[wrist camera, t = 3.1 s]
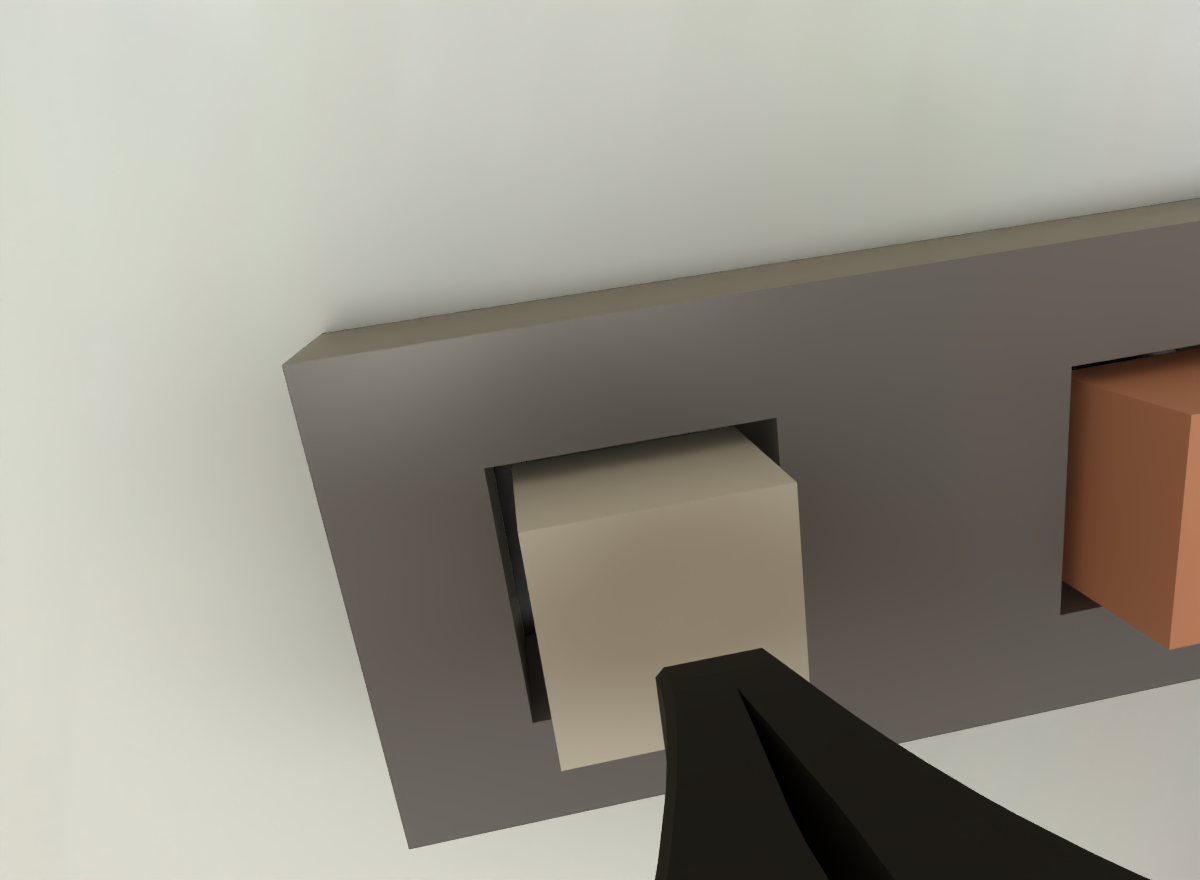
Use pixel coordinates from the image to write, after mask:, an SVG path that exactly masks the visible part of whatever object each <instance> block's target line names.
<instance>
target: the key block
mask: <svg viewBox="0 0 1200 880" xmlns="http://www.w3.org/2000/svg"><path fill="white" fill-rule="evenodd" d="M1176 348H1178V352H1180V351H1186V350H1192V349H1197V348H1200V198H1196V199H1190V200H1184V201H1177V202H1171V203H1164V204H1158V205H1151V206H1145V207H1138V208H1132V209H1125V210H1119V211H1112V212H1106V213H1099V214H1093V215H1086V216H1080V217H1073V218H1067V219H1061V220H1054V221H1048V222H1041V223H1035V224H1028V225H1022V226H1015V227H1009V228H1002V229H996V230H989V231H983V232H976V233H970V234H963V235H957V236H951V237H944V238H938V239H931V240H925V241H918V242H912V243H905V244H899V245H892V246H886V247H879V248H873V249H866V250H860V251H853V252H847V253H840V254H834V255H828V256H821V257H815V258H808V259H802V260H795V261H789V262H782V263H776V264H769V265H763V266H756V267H750V268H743V269H737V270H730V271H724V272H718V273H711V274H705V275H698V276H692V277H685V278H679V279H672V280H666V281H659V282H653V283H646V284H640V285H633V286H627V287H620V288H614V289H607V290H601V291H595V292H588V293H582V294H575V295H569V296H562V297H556V298H549V299H543V300H536V301H530V302H523V303H517V304H510V305H504V306H497V307H491V308H485V309H478V310H472V311H465V312H459V313H452V314H446V315H439V316H433V317H426V318H420V319H413V320H407V321H400V322H394V323H387V324H381V325H374V326H368V327H362V328H355V329H349V330H342V331H336V332H329V333H323V334H321V335H320V336H318V337H317V338H316V339H315V340H313V341H312V342H311V343H309V344H308V345H307V346H306V347H304V348H303V349H302V350H301V351H299V352H298V353H297V354H295V355H294V356H293V357H292V358H290V359H289V360H288V361H287V362H285V363H284V364H283V365H282V368H283V372H284V375H285V379H286V383H287V387H288V391H289V394H290V398H291V402H292V406H293V410H294V413H295V417H296V421H297V425H298V429H299V432H300V436H301V440H302V444H303V448H304V452H305V455H306V459H307V463H308V467H309V471H310V474H311V478H312V482H313V486H314V490H315V493H316V497H317V501H318V505H319V509H320V512H321V516H322V520H323V524H324V528H325V531H326V535H327V539H328V543H329V547H330V550H331V554H332V558H333V562H334V566H335V569H336V573H337V577H338V581H339V585H340V588H341V592H342V596H343V600H344V604H345V607H346V611H347V615H348V619H349V623H350V626H351V630H352V634H353V638H354V642H355V645H356V649H357V653H358V657H359V661H360V664H361V668H362V672H363V676H364V680H365V683H366V687H367V691H368V695H369V699H370V703H371V706H372V710H373V714H374V718H375V722H376V725H377V729H378V733H379V737H380V741H381V744H382V748H383V752H384V756H385V760H386V763H387V767H388V771H389V775H390V779H391V782H392V786H393V790H394V794H395V798H396V801H397V805H398V809H399V813H400V817H401V820H402V824H403V828H404V832H405V836H406V839H407V843H408V847H409V849H413V848H418V847H422V846H427V845H432V844H436V843H441V842H446V841H450V840H455V839H459V838H464V837H469V836H473V835H478V834H483V833H487V832H492V831H496V830H501V829H506V828H510V827H515V826H520V825H524V824H529V823H533V822H538V821H543V820H547V819H552V818H557V817H561V816H566V815H570V814H575V813H580V812H584V811H589V810H594V809H598V808H603V807H607V806H612V805H617V804H621V803H626V802H631V801H635V800H640V799H644V798H649V797H654V796H658V795H663V794H665V793H666V764H667V762H666V754H665V749H664V750H660V751H655V752H650V753H645V754H641V755H636V756H631V757H626V758H622V759H617V760H612V761H607V762H603V763H598V764H593V765H589V766H584V767H579V768H574V769H570V770H565V771H561V767H560V761H559V756H558V750H557V745H556V739H555V734H554V728H553V723H552V717H551V712H550V706H549V701H548V695H547V690H546V684H545V679H544V673H543V668H542V662H541V657H540V651H539V646H538V640H537V635H536V633H532V634H527V635H525V634H524V629H523V623H522V618H521V613H520V607H519V602H518V597H517V591H516V586H515V581H514V575H513V570H512V565H511V559H510V554H509V549H508V543H507V538H506V533H505V527H504V522H503V517H502V511H501V506H500V501H499V495H498V490H497V485H496V479H495V474H494V469H493V467H495V466H501V465H507V464H512V463H518V462H524V461H530V460H536V459H541V458H547V457H553V456H559V455H564V454H570V453H576V452H582V451H587V450H593V449H599V448H605V447H611V446H616V445H622V444H628V443H634V442H639V441H645V440H651V439H657V438H662V437H668V436H674V435H680V434H686V433H691V432H697V431H703V430H709V429H714V428H720V427H726V426H728V427H732V426H734V427H735V428H736V429H737V430H739V431H740V432H741V433H742V434H743V435H744V436H745V437H746V438H748V439H749V440H750V441H751V442H752V443H753V444H754V445H755V446H757V447H758V448H759V449H760V450H761V451H762V452H763V453H764V454H766V455H767V456H768V457H769V458H770V459H771V460H772V461H773V462H775V463H776V464H777V465H778V466H779V467H780V468H781V469H782V470H784V471H785V472H786V473H787V474H788V475H789V476H790V477H791V478H793V479H794V480H795V481H796V482H797V491H798V507H799V523H800V538H801V554H802V570H803V585H804V601H805V616H806V632H807V648H808V663H809V679H810V683H811V684H812V685H814V686H815V687H816V688H818V689H819V690H821V691H822V692H823V693H825V694H826V695H827V696H829V697H830V698H832V699H833V700H834V701H836V702H837V703H838V704H840V705H841V706H843V707H844V708H845V709H847V710H848V711H850V712H851V713H853V714H854V715H855V716H857V717H858V718H860V719H861V720H863V721H864V722H866V723H867V724H869V725H870V726H871V727H873V728H874V729H876V730H877V731H879V732H880V733H882V734H883V735H885V736H886V737H888V738H889V739H891V740H892V741H894V742H895V743H897V744H899V743H903V742H908V741H913V740H917V739H922V738H927V737H931V736H936V735H940V734H945V733H950V732H954V731H959V730H964V729H968V728H973V727H977V726H982V725H987V724H991V723H996V722H1001V721H1005V720H1010V719H1014V718H1019V717H1024V716H1028V715H1033V714H1038V713H1042V712H1047V711H1051V710H1056V709H1061V708H1065V707H1070V706H1075V705H1079V704H1084V703H1088V702H1093V701H1098V700H1102V699H1107V698H1112V697H1116V696H1121V695H1125V694H1130V693H1135V692H1139V691H1144V690H1149V689H1153V688H1158V687H1162V686H1167V685H1172V684H1176V683H1181V682H1186V681H1190V680H1195V679H1199V678H1200V643H1199V644H1195V645H1190V646H1185V647H1180V648H1176V649H1171V650H1169V649H1167V648H1165V647H1164V646H1162V645H1161V644H1159V643H1158V642H1156V641H1155V640H1153V639H1152V638H1150V637H1149V636H1147V635H1145V634H1144V633H1142V632H1141V631H1139V630H1138V629H1136V628H1135V627H1133V626H1132V625H1130V624H1129V623H1127V622H1125V621H1124V620H1122V619H1121V618H1119V617H1118V616H1116V615H1115V614H1113V613H1112V612H1110V611H1109V610H1107V609H1105V608H1104V607H1102V606H1101V605H1099V604H1098V603H1096V602H1095V601H1093V600H1092V599H1090V598H1089V597H1087V596H1086V595H1084V594H1082V593H1081V592H1079V591H1078V590H1076V589H1075V588H1073V587H1072V586H1070V585H1069V584H1067V583H1066V582H1064V581H1062V564H1063V543H1064V522H1065V500H1066V479H1067V457H1068V436H1069V415H1070V393H1071V372H1072V366H1078V365H1084V364H1089V363H1095V362H1101V361H1107V360H1113V359H1118V358H1124V357H1130V356H1136V355H1141V354H1147V353H1153V352H1159V351H1164V350H1170V349H1176Z"/></svg>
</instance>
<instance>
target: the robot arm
mask: <svg viewBox="0 0 1200 880" xmlns="http://www.w3.org/2000/svg"><path fill="white" fill-rule="evenodd" d="M655 679H656V687H657V694H658V702H659V709H660V717H661V724H662V732H663V739H664V747H665V754H666V762H667V764H666V793H665V805H664V814H663V823H662V831H661V840H660V849H659V858H658V865H657V871H656V877H655V880H1150V879H1148V878H1145V877H1143V876H1141V875H1138V874H1136V873H1134V872H1132V871H1130V870H1128V869H1125V868H1123V867H1121V866H1119V865H1117V864H1115V863H1113V862H1110V861H1108V860H1106V859H1104V858H1102V857H1100V856H1098V855H1095V854H1093V853H1091V852H1089V851H1087V850H1085V849H1083V848H1081V847H1079V846H1077V845H1075V844H1073V843H1071V842H1069V841H1068V840H1066V839H1064V838H1062V837H1060V836H1058V835H1056V834H1054V833H1052V832H1050V831H1048V830H1046V829H1044V828H1042V827H1040V826H1038V825H1036V824H1034V823H1032V822H1030V821H1028V820H1026V819H1024V818H1022V817H1020V816H1018V815H1016V814H1015V813H1013V812H1011V811H1009V810H1007V809H1006V808H1004V807H1002V806H1000V805H998V804H996V803H995V802H993V801H991V800H989V799H987V798H986V797H984V796H982V795H980V794H979V793H977V792H975V791H974V790H972V789H970V788H969V787H967V786H965V785H963V784H962V783H960V782H958V781H957V780H955V779H953V778H952V777H950V776H948V775H947V774H945V773H943V772H942V771H940V770H938V769H937V768H935V767H933V766H932V765H930V764H928V763H927V762H925V761H923V760H922V759H920V758H919V757H917V756H916V755H914V754H912V753H911V752H909V751H908V750H906V749H905V748H903V747H901V746H900V745H898V744H897V743H895V742H894V741H892V740H891V739H889V738H888V737H886V736H885V735H883V734H882V733H880V732H879V731H877V730H876V729H874V728H873V727H871V726H870V725H869V724H867V723H866V722H864V721H863V720H861V719H860V718H858V717H857V716H855V715H854V714H853V713H851V712H850V711H848V710H847V709H845V708H844V707H843V706H841V705H840V704H838V703H837V702H836V701H834V700H833V699H832V698H830V697H829V696H827V695H826V694H825V693H823V692H822V691H821V690H819V689H818V688H816V687H815V686H814V685H812V684H811V683H810V682H808V681H807V680H806V679H804V678H803V677H801V676H800V675H799V674H797V673H796V672H795V671H793V670H792V669H791V668H789V667H788V666H787V665H785V664H784V663H782V662H781V661H780V660H778V659H777V658H776V657H774V656H773V655H771V654H770V653H769V652H767V651H766V650H765V649H763V648H758V649H753V650H748V651H743V652H738V653H733V654H728V655H723V656H718V657H713V658H708V659H703V660H698V661H693V662H688V663H683V664H678V665H673V666H668V667H663V669H662V670H661V671H660V672H659V674H658V675H657V676H656V677H655Z"/></svg>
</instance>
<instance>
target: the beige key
mask: <svg viewBox="0 0 1200 880" xmlns="http://www.w3.org/2000/svg"><path fill="white" fill-rule="evenodd" d="M511 468H512V478H513V489H514V499H515V509H516V519H517V529H518V536H519V542H520V547H521V553H522V558H523V564H524V569H525V575H526V580H527V586H528V591H529V597H530V602H531V608H532V613H533V619H534V624H535V629H536V635H537V640H538V646H539V651H540V657H541V662H542V668H543V673H544V679H545V684H546V690H547V695H548V701H549V706H550V712H551V717H552V723H553V728H554V734H555V739H556V745H557V750H558V756H559V761H560V767H561V771H565V770H570V769H574V768H579V767H584V766H589V765H593V764H598V763H603V762H607V761H612V760H617V759H622V758H626V757H631V756H636V755H641V754H645V753H650V752H655V751H660V750H664V749H665V747H664V739H663V732H662V724H661V717H660V709H659V702H658V694H657V687H656V679H655V677H656V676H657V675H658V674H659V672H660V671H661V670H662V669H663V667H668V666H673V665H678V664H683V663H688V662H693V661H698V660H703V659H708V658H713V657H718V656H723V655H728V654H733V653H738V652H743V651H748V650H753V649H758V648H763V649H765V650H766V651H767V652H769V653H770V654H771V655H773V656H774V657H776V658H777V659H778V660H780V661H781V662H782V663H784V664H785V665H787V666H788V667H789V668H791V669H792V670H793V671H795V672H796V673H797V674H799V675H800V676H801V677H803V678H804V679H806V680H807V681H808V682H810V679H809V663H808V648H807V632H806V616H805V601H804V585H803V570H802V554H801V538H800V523H799V507H798V491H797V482H796V481H795V480H794V479H793V478H791V477H790V476H789V475H788V474H787V473H786V472H785V471H784V470H782V469H781V468H780V467H779V466H778V465H777V464H776V463H775V462H773V461H772V460H771V459H770V458H769V457H768V456H767V455H766V454H764V453H763V452H762V451H761V450H760V449H759V448H758V447H757V446H755V445H754V444H753V443H752V442H751V441H750V440H749V439H748V438H746V437H745V436H744V435H743V434H742V433H741V432H740V431H739V430H737V429H736V428H735V427H734V426H732V427H726V428H721V429H715V430H709V431H703V432H698V433H692V434H686V435H680V436H674V437H669V438H663V439H657V440H651V441H646V442H640V443H634V444H628V445H623V446H617V447H611V448H605V449H600V450H594V451H588V452H582V453H576V454H571V455H565V456H559V457H553V458H548V459H542V460H536V461H530V462H525V463H519V464H513V465H511Z"/></svg>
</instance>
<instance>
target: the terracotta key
mask: <svg viewBox="0 0 1200 880" xmlns="http://www.w3.org/2000/svg"><path fill="white" fill-rule="evenodd" d="M1062 581H1064V582H1066V583H1067V584H1069V585H1070V586H1072V587H1073V588H1075V589H1076V590H1078V591H1079V592H1081V593H1082V594H1084V595H1086V596H1087V597H1089V598H1090V599H1092V600H1093V601H1095V602H1096V603H1098V604H1099V605H1101V606H1102V607H1104V608H1105V609H1107V610H1109V611H1110V612H1112V613H1113V614H1115V615H1116V616H1118V617H1119V618H1121V619H1122V620H1124V621H1125V622H1127V623H1129V624H1130V625H1132V626H1133V627H1135V628H1136V629H1138V630H1139V631H1141V632H1142V633H1144V634H1145V635H1147V636H1149V637H1150V638H1152V639H1153V640H1155V641H1156V642H1158V643H1159V644H1161V645H1162V646H1164V647H1165V648H1167V649H1169V650H1171V649H1176V648H1180V647H1185V646H1190V645H1195V644H1199V643H1200V348H1197V349H1192V350H1186V351H1180V352H1174V353H1169V354H1163V355H1157V356H1151V357H1146V358H1140V359H1134V360H1128V361H1123V362H1117V363H1111V364H1105V365H1100V366H1094V367H1088V368H1082V369H1077V370H1072V372H1071V393H1070V415H1069V436H1068V457H1067V479H1066V500H1065V522H1064V543H1063V564H1062Z"/></svg>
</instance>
